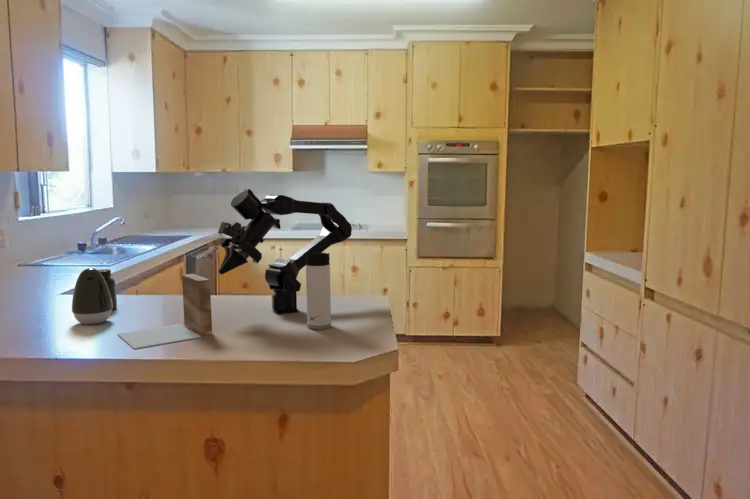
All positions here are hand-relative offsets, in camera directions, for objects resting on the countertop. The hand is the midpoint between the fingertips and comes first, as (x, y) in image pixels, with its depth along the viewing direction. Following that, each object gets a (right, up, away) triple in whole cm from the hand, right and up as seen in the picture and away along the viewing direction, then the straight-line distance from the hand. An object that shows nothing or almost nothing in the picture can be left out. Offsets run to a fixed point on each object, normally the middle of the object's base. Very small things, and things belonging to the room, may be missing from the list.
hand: (219, 273), depth 160 cm
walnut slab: (-4, -14, -7) cm, 17 cm away
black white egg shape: (-35, -14, +2) cm, 38 cm away
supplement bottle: (-40, -12, +19) cm, 46 cm away
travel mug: (+28, -14, -5) cm, 31 cm away
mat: (-12, -15, -13) cm, 23 cm away
